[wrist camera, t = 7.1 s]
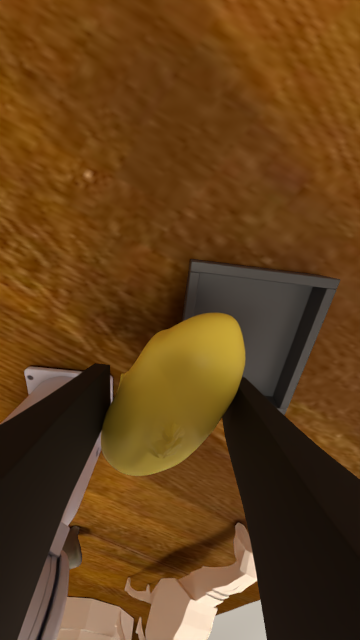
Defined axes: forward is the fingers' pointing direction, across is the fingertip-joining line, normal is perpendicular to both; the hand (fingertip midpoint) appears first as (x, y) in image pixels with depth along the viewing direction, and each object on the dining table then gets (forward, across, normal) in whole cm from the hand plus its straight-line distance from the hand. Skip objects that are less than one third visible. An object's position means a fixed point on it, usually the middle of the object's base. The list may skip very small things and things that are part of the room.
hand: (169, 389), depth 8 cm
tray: (+9, -6, +1) cm, 11 cm away
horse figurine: (+9, -5, +40) cm, 42 cm away
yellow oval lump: (+2, 0, 0) cm, 2 cm away
